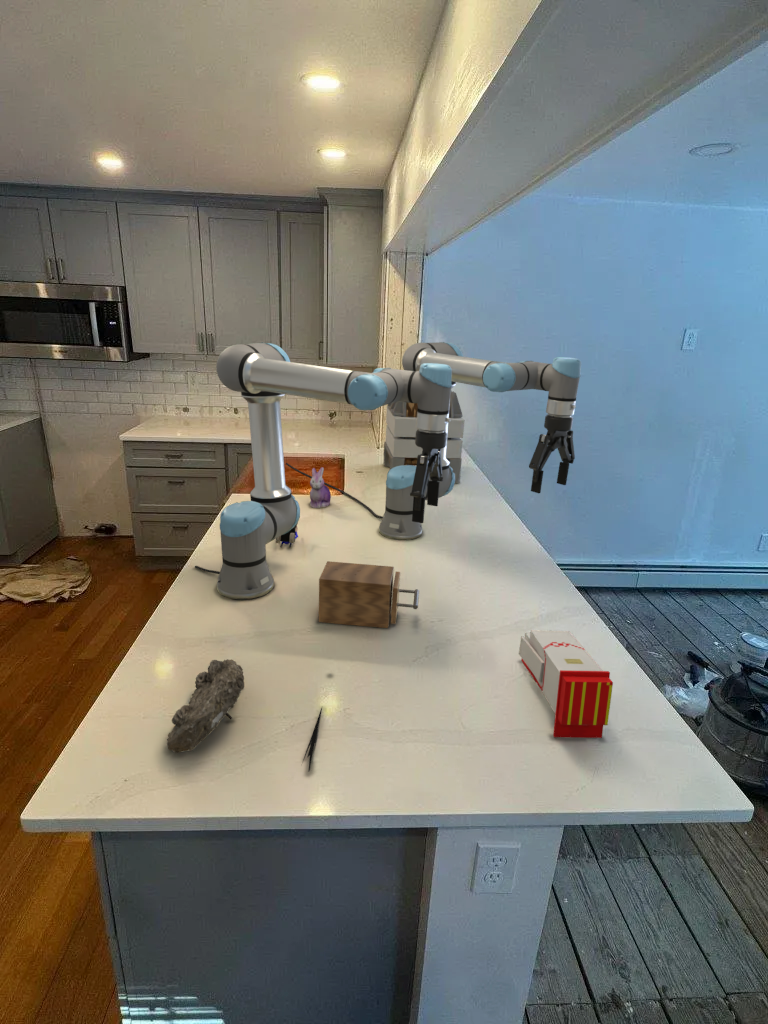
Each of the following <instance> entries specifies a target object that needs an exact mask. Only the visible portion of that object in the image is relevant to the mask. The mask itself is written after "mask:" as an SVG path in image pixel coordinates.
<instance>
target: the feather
mask: <svg viewBox="0 0 768 1024" xmlns="http://www.w3.org/2000/svg"><path fill="white" fill-rule="evenodd" d="M329 675H330V676H331V675H332V674H331V673H330V674H329ZM322 710H323V707H321V708H320V710H319V713H318V716H317V719H316V723H315V725H314V728H313V731H312V733H311V737H310V739H309V742H308V745H307V748H306V751H305V754H304V757H303V760H302V763H301V767H302V765H303V763H304V761H305V758H308V759H309V760H308V762H307V763H308V764H307V766H308V771H310V770H311V766H312V765H311V764H312V760H313V757H315V756H314V755H315V751H316V749H315V746H317V739H318V733H319V729H320V722H321V717H322V712H323V711H322ZM313 754H314V755H313ZM306 755H307V757H306Z"/></svg>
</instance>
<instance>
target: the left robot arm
mask: <svg viewBox="0 0 768 1024" xmlns="http://www.w3.org/2000/svg"><path fill="white" fill-rule="evenodd" d="M215 368H216V369H215V370H216V374H217V377H218V379H219V381H220V382H221V384H222V385H223V386H224V387H225V388H227V389H229V390H230V391H232V392H238V393H240V395H241V397H242V398H243V399H244V400H245V401H246V402H247V410H248V417H249V418H248V421H249V433H250V444H251V453H252V454H251V456H252V466H253V479H254V487H253V489H252V490H251V491H249V492H250V493H249V497H250V500H243V501H240V502H237V501H236V502H233V503H231V504H229V505H227V506H226V507H224V508H223V509H222V511H221V513H220V517H219V534H220V545H221V559H222V563H221V567H220V569H219V570H212V569H207V568H204V567H201V566H199V565H194V568H195V569H197V570H199V571H202V572H205V573H209V574H216V575H218V577H217V581H216V590H217V592H218V593H219V595H220V596H222V597H224V598H227V599H231V600H243V601H244V600H252V599H256V598H260V597H263V596H265V595H267V594H268V593H270V592H271V591H272V590H273V588H274V576H273V575H272V572H271V570H270V566H269V564H268V561H267V545H268V543H270V542H272V541H274V540H275V539H276V538H277V537H279V536H281V535H284V534H286V533H287V532H289V531H290V530H291V529H292V528H293V527H294V526H295V525H296V524H297V522H298V523H299V521H300V518H299V517H301V507H300V504H299V502H298V500H297V499H296V497H295V496H294V495H293V494H292V489H291V488H290V487H289V486H288V485H287V484H286V472H285V471H286V470H285V457H284V442H283V427H282V425H283V424H282V411H281V400H282V399H283V398H284V397H285V396H286V395H288V396H293V397H300V398H307V399H313V400H319V401H326V402H333V403H338V404H340V403H341V404H345V405H351V406H354V407H355V408H356V409H358V410H359V411H374V410H377V409H379V408H382V407H383V406H387V405H388V404H390V403H394V402H408V403H417V404H418V408H417V421H416V428H417V429H418V430H417V431H416V438H415V444H416V446H418V447H421V448H422V449H423V451H422V454H420V455H418V456H417V466H416V471H415V476H414V481H413V487H412V492H411V493H410V496H413V497H414V499H413V513H412V522H418V523H421V524H424V523H425V507H426V506H430V507H438V506H439V498H438V496H439V484H440V482H438V481H443V477H442V458H441V449H442V448H444V447H445V446H446V441H447V433H446V431H445V430H447V427H448V422H450V418H448V414H449V404H450V395H451V391H452V389H451V387H452V384H451V380H452V369H451V367H450V366H449V365H446V364H437V363H436V364H435V363H424V364H422V365H421V366H420V370H419V371H408V370H404V369H400V368H399V369H398V368H392V367H377V368H375V369H373V371H372V372H366V371H357V370H351V369H344V368H337V367H329V366H323V365H314V364H307V363H300V362H293V361H291V360H290V357H289V355H288V354H287V353H286V351H285V350H284V349H283V348H282V347H280V346H279V345H277V344H275V343H270V342H253V343H242V344H241V343H240V344H239V343H238V344H233V345H229V346H228V347H226V348H225V349H223V350H222V351H221V353H219V356H218V358H217V361H216V367H215ZM429 475H430V480H432V481H429V486H428V499H427V500H425V497H424V494H425V491H426V487H427V483H428V479H429ZM417 491H419V492H417ZM298 520H299V521H298ZM297 525H298V524H297Z"/></svg>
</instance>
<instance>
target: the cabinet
mask: <svg viewBox="0 0 768 1024" xmlns="http://www.w3.org/2000/svg"><path fill="white" fill-rule="evenodd" d="M394 571H395V567H394V566H388V565H378V564H377V565H376V564H365V563H351V562H342V561H341V562H340V561H329V560H328V561H326V563H325V565H324V568H323V570H322V572H321V574H320V576H319V578H318V623H325V624H336V625H347V626H358V627H370V628H381V629H388V628H389V625H390V620H391V611H392V593H393V584H394Z"/></svg>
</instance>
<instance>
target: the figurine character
mask: <svg viewBox="0 0 768 1024" xmlns="http://www.w3.org/2000/svg"><path fill="white" fill-rule="evenodd" d="M300 517H301V516H300ZM300 517H299V520H298V522H297V524H296V525H295V526H294V527H293V528H292V529H291V530H290V531H289V532H287V533H286V534H284V535H281V536H279V537H277V538H276V539H274V540H275V544H279V547H280V548H283V547H284V545H288V548H289V549H290V548H292V545H294V544H295V542H296V539H298V538H299V535H298V530H299V529H298V528H299V527H298V523H299V521H300Z"/></svg>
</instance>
